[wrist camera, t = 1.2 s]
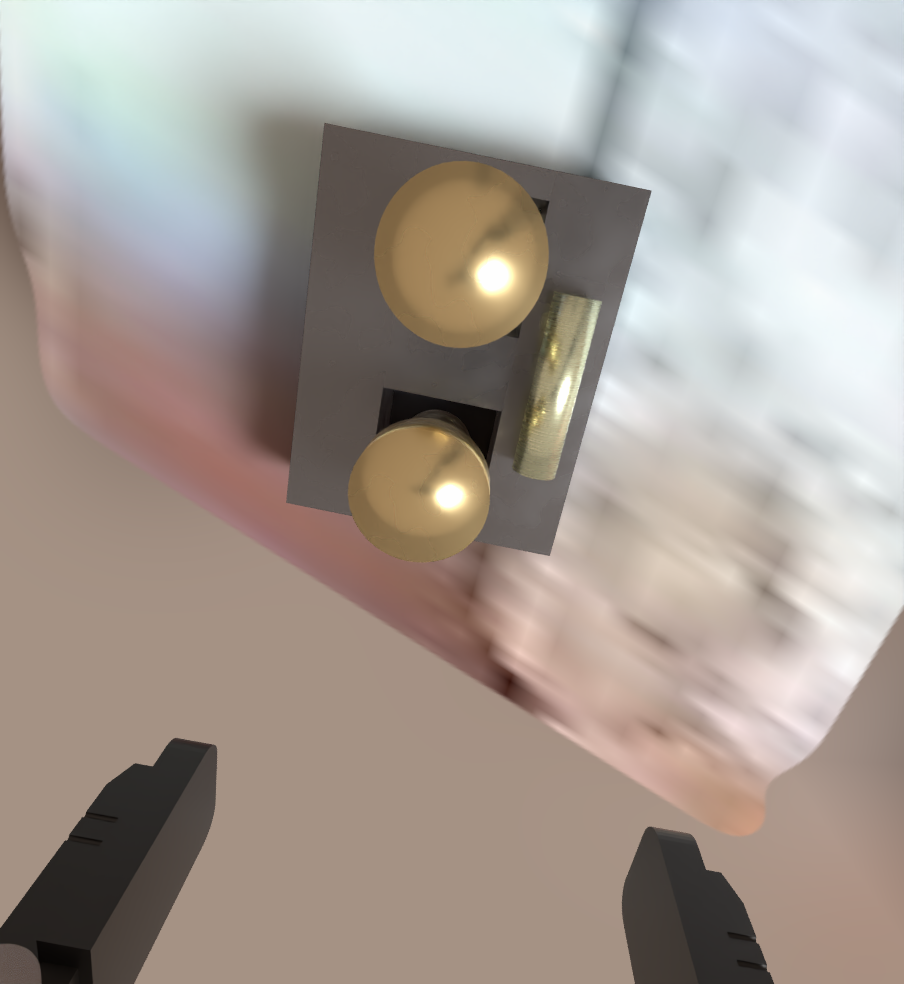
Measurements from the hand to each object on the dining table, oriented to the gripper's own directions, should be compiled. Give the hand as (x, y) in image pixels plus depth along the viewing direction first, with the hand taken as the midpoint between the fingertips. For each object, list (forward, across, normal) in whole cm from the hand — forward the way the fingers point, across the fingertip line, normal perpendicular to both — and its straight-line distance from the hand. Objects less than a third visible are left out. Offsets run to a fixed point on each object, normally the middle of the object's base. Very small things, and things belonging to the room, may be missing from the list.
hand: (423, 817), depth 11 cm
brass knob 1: (+17, +2, -9) cm, 20 cm away
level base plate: (+21, +2, -5) cm, 21 cm away
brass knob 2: (+19, +2, -1) cm, 19 cm away
